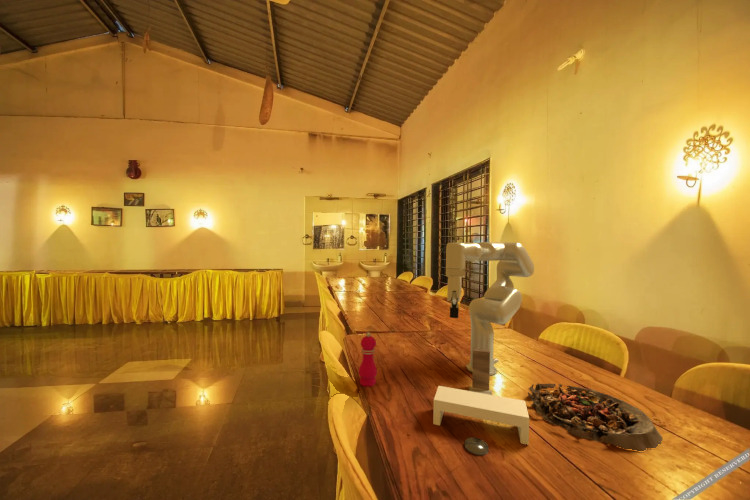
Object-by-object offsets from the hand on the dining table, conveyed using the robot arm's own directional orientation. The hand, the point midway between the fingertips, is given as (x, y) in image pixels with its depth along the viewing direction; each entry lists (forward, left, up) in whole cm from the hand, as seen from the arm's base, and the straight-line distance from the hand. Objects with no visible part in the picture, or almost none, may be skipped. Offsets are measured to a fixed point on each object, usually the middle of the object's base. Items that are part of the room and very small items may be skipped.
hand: (454, 315), depth 122 cm
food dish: (-17, +41, -27) cm, 52 cm away
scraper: (+3, +15, -27) cm, 31 cm away
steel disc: (+27, +31, -27) cm, 49 cm away
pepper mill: (+30, -17, -27) cm, 44 cm away
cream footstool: (+17, +25, -27) cm, 40 cm away
